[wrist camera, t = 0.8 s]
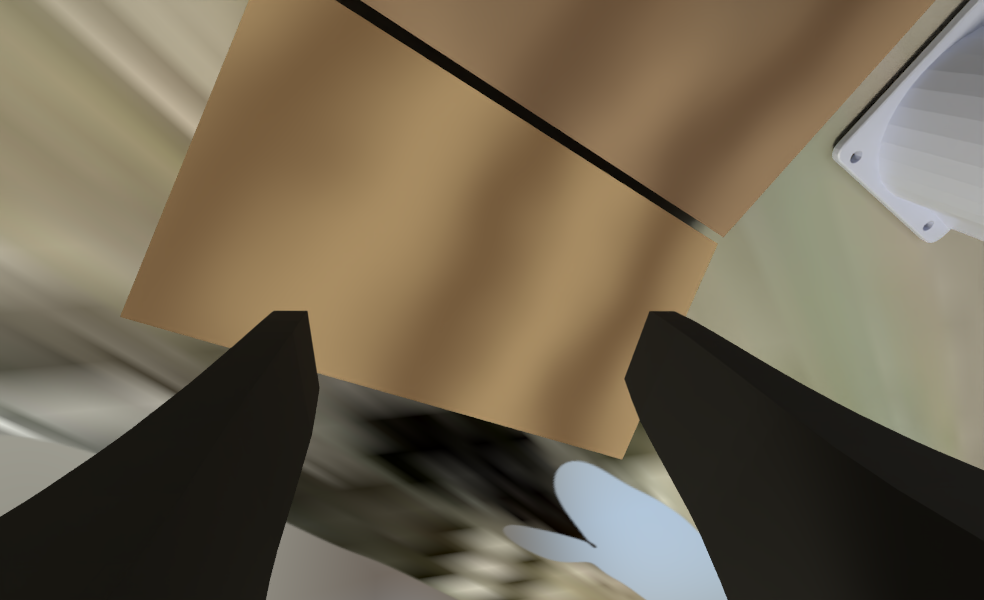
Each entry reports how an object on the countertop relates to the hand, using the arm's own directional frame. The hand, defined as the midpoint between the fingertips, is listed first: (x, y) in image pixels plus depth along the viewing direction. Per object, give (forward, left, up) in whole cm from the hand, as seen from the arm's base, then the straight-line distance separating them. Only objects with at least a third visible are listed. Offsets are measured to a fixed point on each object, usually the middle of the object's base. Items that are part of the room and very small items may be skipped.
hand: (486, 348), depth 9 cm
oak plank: (-1, +2, -7) cm, 8 cm away
